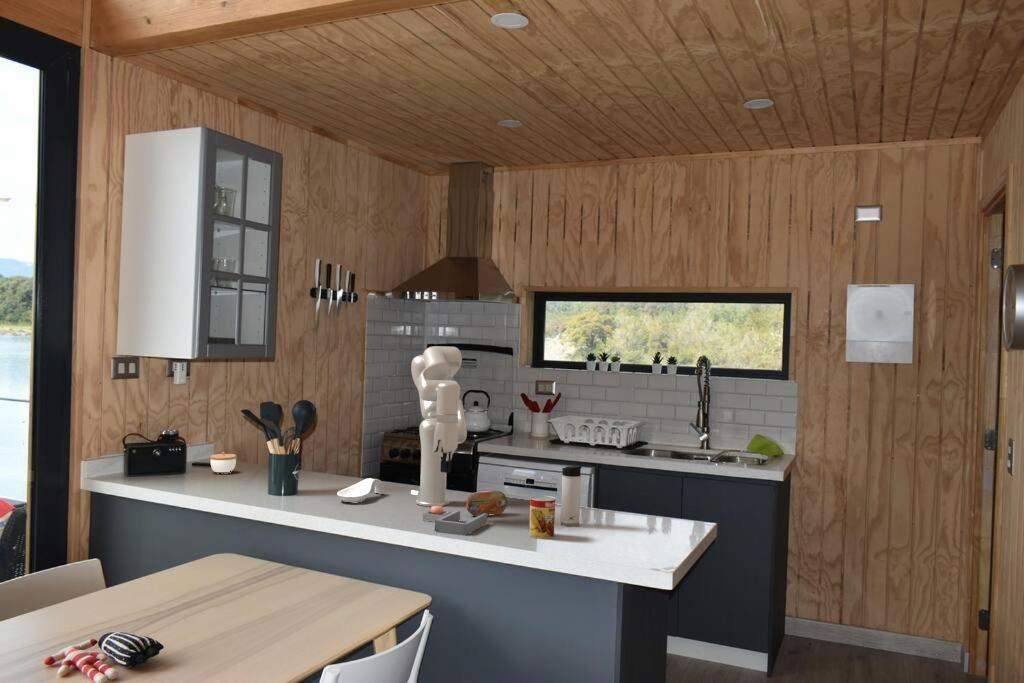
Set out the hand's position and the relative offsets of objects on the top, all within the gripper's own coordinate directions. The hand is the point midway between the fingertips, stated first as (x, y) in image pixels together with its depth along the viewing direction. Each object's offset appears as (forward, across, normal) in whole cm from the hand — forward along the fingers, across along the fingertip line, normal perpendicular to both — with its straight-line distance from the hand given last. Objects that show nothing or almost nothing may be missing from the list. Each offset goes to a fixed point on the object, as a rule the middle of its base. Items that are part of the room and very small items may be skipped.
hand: (445, 472), depth 277 cm
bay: (+15, +10, +11) cm, 21 cm away
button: (+14, +4, -1) cm, 14 cm away
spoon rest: (+17, -14, -42) cm, 47 cm away
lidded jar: (+18, -31, -123) cm, 128 cm away
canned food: (+15, +8, +38) cm, 42 cm away
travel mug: (+16, -12, +42) cm, 46 cm away
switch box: (+16, +4, -1) cm, 16 cm away
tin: (+16, -12, +11) cm, 22 cm away
